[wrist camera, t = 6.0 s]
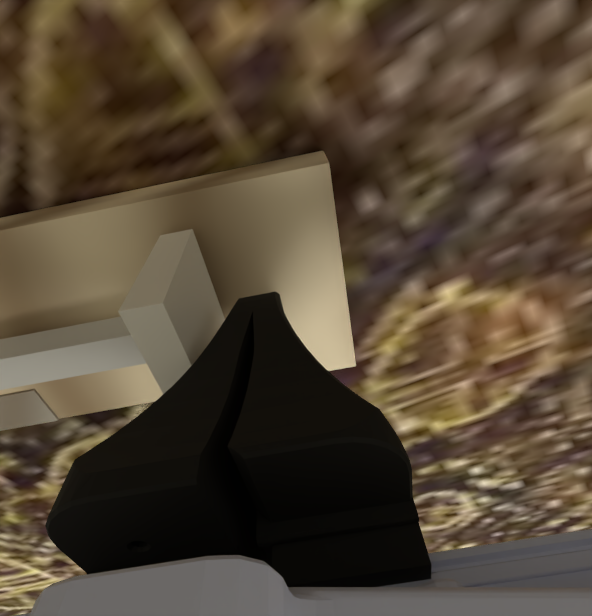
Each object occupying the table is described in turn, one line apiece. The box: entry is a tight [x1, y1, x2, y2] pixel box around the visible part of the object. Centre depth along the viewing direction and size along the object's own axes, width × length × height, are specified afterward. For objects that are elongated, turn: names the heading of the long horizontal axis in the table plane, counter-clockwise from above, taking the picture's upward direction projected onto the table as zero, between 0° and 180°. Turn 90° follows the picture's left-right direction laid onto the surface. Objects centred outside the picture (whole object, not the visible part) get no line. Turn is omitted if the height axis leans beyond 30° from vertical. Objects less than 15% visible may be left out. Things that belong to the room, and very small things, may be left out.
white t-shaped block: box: [0, 229, 225, 394], centre depth 12 cm, size 8×6×4 cm
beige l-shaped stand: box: [0, 151, 356, 431], centre depth 12 cm, size 21×8×8 cm, turn 101°
